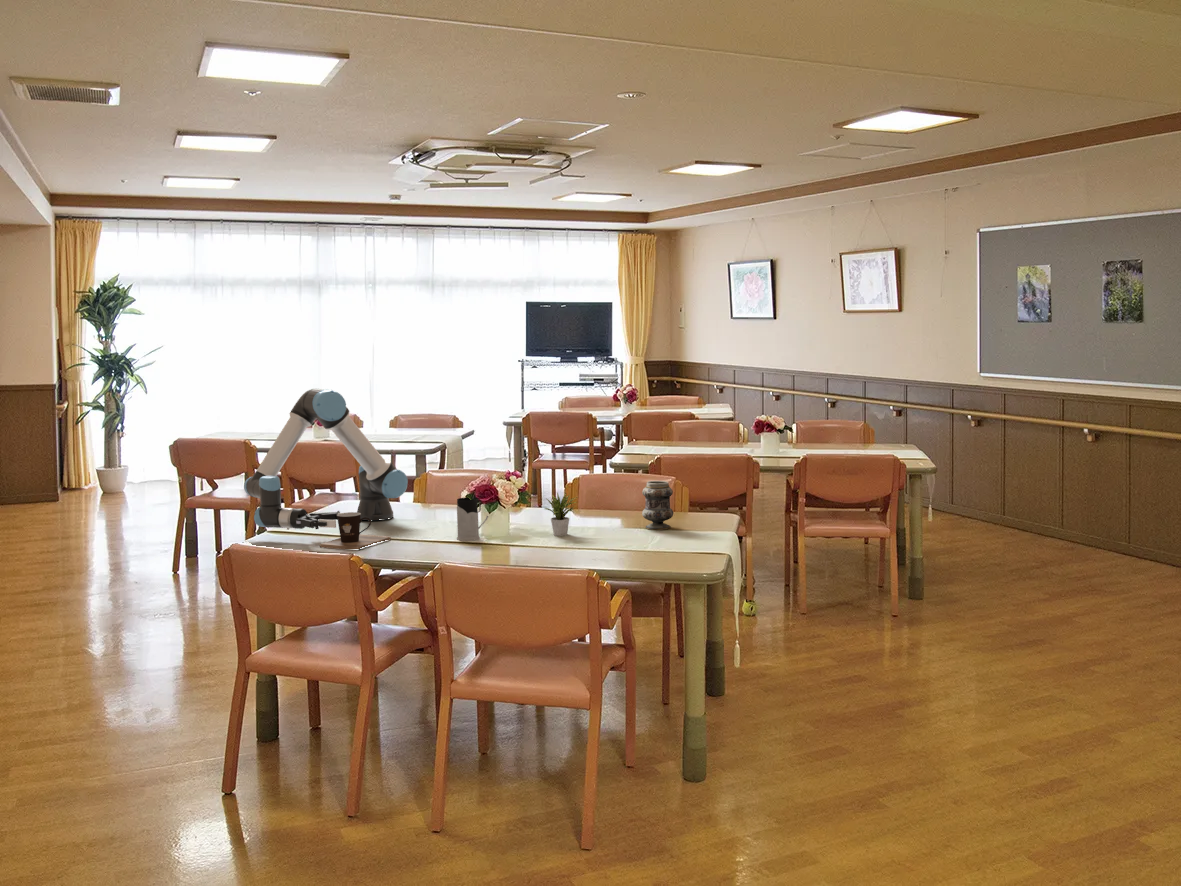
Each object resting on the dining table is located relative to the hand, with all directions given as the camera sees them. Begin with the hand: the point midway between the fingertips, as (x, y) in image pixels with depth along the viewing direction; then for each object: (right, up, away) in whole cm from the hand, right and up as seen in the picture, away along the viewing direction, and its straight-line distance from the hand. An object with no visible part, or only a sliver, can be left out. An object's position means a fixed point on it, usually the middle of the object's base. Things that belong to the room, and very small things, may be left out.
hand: (344, 520), depth 410 cm
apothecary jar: (+117, -4, +20) cm, 119 cm away
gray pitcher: (+47, -7, +7) cm, 48 cm away
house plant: (+80, -6, +9) cm, 81 cm away
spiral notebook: (+4, -9, 0) cm, 10 cm away
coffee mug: (+4, -8, -2) cm, 9 cm away
